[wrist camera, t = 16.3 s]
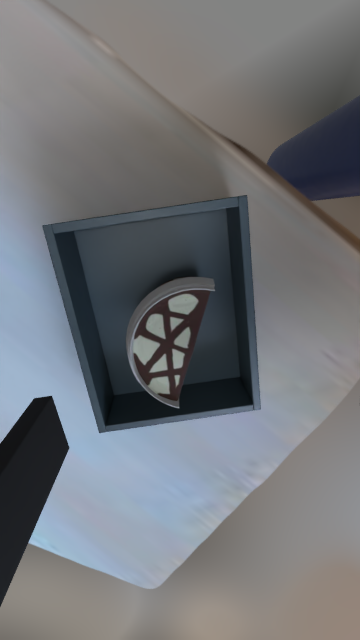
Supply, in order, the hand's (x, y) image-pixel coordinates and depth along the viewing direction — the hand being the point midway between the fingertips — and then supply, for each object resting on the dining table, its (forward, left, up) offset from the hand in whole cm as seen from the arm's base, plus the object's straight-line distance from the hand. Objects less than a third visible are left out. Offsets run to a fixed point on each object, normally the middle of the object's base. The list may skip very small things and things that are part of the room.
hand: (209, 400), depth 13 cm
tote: (+2, +3, -23) cm, 23 cm away
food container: (+3, +3, -23) cm, 23 cm away
